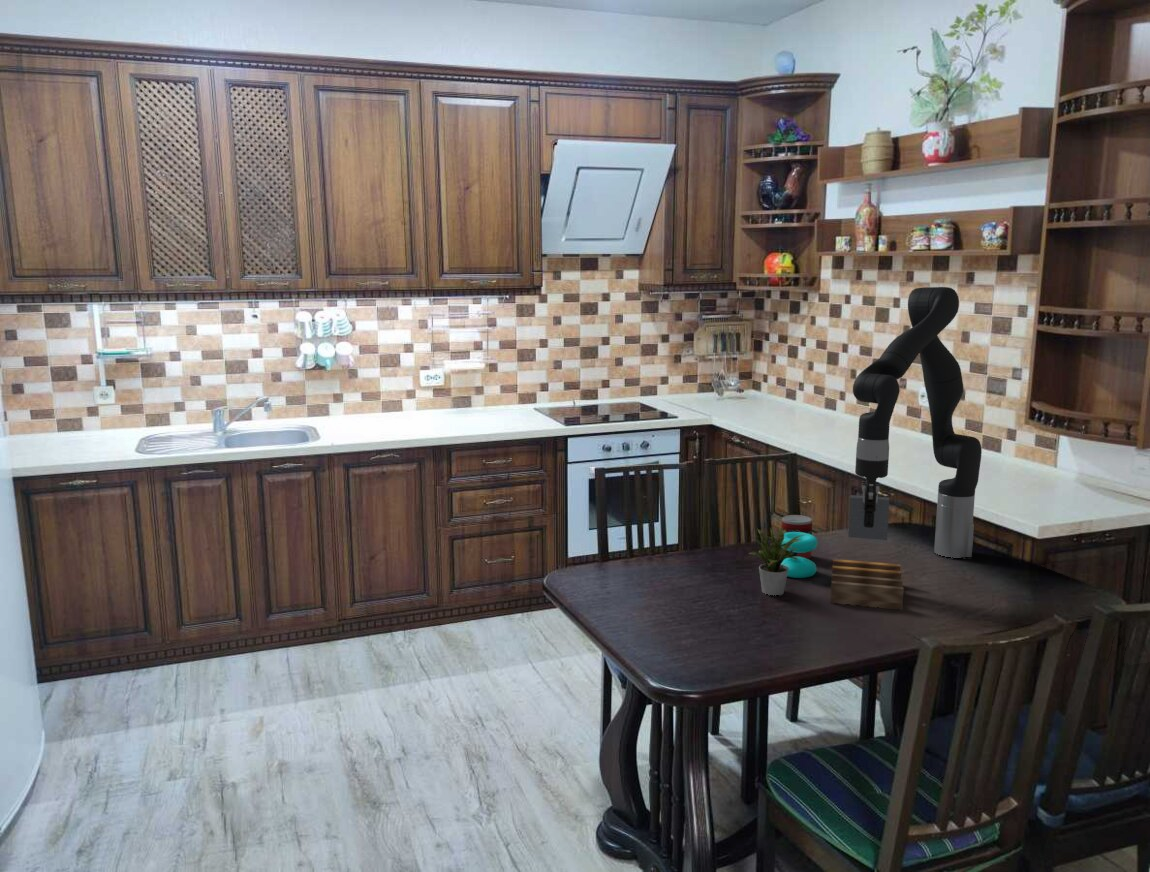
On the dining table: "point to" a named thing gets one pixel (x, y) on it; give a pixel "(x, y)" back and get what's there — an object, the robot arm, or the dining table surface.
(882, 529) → the metal panel
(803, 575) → the turquoise curved double lobe
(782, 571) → the house plant
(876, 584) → the slotted rack
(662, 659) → the dining table surface
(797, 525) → the canned food
